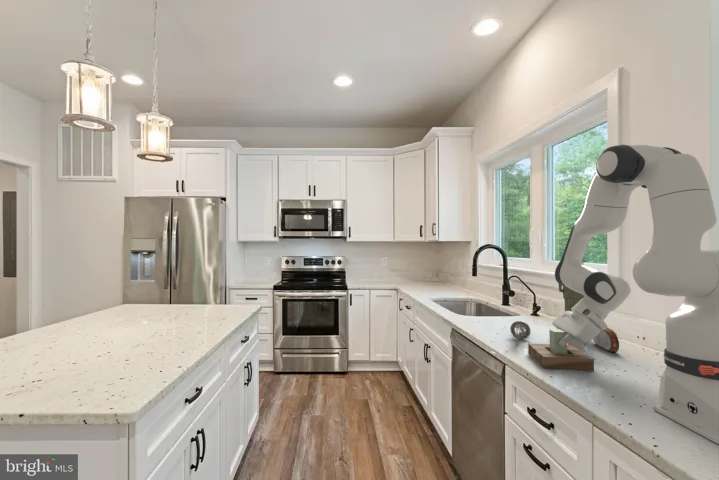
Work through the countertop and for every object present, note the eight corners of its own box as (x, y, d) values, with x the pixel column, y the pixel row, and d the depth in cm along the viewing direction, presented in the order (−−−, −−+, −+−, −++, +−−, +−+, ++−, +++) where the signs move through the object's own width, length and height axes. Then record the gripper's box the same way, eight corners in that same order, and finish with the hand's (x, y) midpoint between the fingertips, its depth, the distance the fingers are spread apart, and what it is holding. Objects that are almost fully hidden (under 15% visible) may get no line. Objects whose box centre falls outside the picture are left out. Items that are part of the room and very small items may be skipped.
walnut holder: (594, 371, 104) (593, 358, 104) (543, 368, 107) (543, 356, 107) (572, 355, 119) (571, 345, 119) (528, 354, 121) (528, 343, 122)
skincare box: (567, 347, 129) (566, 317, 129) (579, 348, 128) (578, 317, 128) (572, 352, 123) (571, 320, 123) (585, 353, 122) (584, 321, 122)
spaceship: (502, 328, 129) (522, 322, 126) (511, 320, 159) (527, 315, 156) (510, 348, 127) (531, 342, 124) (518, 336, 157) (535, 331, 154)
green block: (567, 358, 110) (566, 332, 111) (554, 358, 111) (553, 331, 111) (562, 354, 114) (561, 329, 115) (550, 354, 115) (549, 328, 115)
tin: (620, 354, 120) (619, 332, 120) (610, 354, 120) (610, 331, 120) (599, 343, 134) (598, 322, 134) (590, 342, 135) (589, 322, 135)
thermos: (596, 341, 136) (593, 258, 137) (564, 340, 139) (562, 258, 140) (587, 336, 145) (584, 257, 145) (557, 334, 147) (555, 258, 148)
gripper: (565, 303, 122) (538, 328, 124) (594, 314, 102) (561, 344, 104) (578, 315, 121) (551, 340, 123) (610, 328, 101) (577, 358, 103)
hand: (556, 342), depth 113 cm, fingers closed on green block, 4 cm apart
